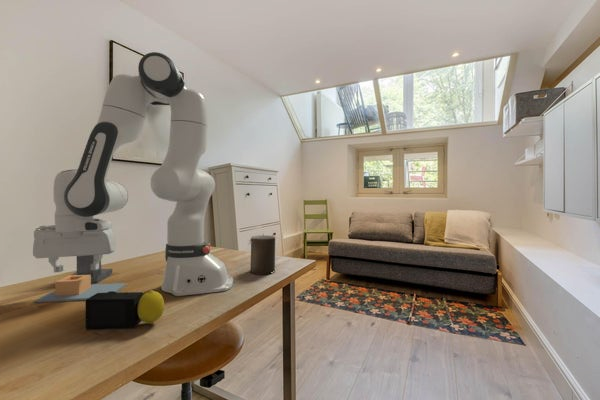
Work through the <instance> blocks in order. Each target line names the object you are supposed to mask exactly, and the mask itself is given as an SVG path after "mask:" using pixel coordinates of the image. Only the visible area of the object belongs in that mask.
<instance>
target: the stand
mask: <svg viewBox="0 0 600 400" xmlns="http://www.w3.org/2000/svg"><path fill="white" fill-rule="evenodd" d="M95 260H96V259H94V255H86V256H76V272H74V273H72V274H70V275H91V284H100V282H101V281H103V280H105V279H107V278H108V277H110V276H112V275H113V268H102V260H101V261H100V262H99V269H97V270H91V269H90V268H91V267H90V264H93V263H94V262H95Z"/></svg>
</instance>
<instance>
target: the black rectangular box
mask: <svg viewBox="0 0 600 400" xmlns="http://www.w3.org/2000/svg"><path fill="white" fill-rule="evenodd" d="M143 295H144V294H143V291H137V292H136V291H135V292H134V291H132V292H131V291H130V292H127V291H126V292H122V291H121V292H114V291H110V292H107V293H97V294H95V295H93V296H91V297H90V298H88V299H86V300H85V330H86V331H88V330H89V331H90V330H91V331H92V330H94V331H96V330H98V331H99V330H129V329H135V328H137V326H138V325H139V324H140V323H141V322H143V321H142V320H141V319H140V318H139V316H138V311H137V308H138V303H139V300H140V298H141V297H142V296H143Z"/></svg>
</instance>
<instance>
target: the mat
mask: <svg viewBox="0 0 600 400" xmlns="http://www.w3.org/2000/svg"><path fill="white" fill-rule="evenodd" d="M126 286H127V283H126V282H124V283H123V282H121V283H91V288H89V289H87V290H86V291H84V292H83V293H81V294H79V295H59V296H55V290H53V291H50V292H49V293H46V294H44V295H43V296H42V295H41V297H39V298H37V299H35V300H34V303H53V302H54V303H55V302H56V303H57V302H73V301H74V302H75V301H76V302H78V301H79V302H80V301H86V299H88V298H90V297H91V296H93V295H95V294H97V293H107V292H110V291H114V292H117V293H119V291H120V290H122V289H123V288H125V287H126Z"/></svg>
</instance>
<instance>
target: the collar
mask: <svg viewBox="0 0 600 400" xmlns="http://www.w3.org/2000/svg"><path fill="white" fill-rule="evenodd" d="M91 284H92V283H91V275H71V274H70V275H67V276H65V277H63V278H60V279H59V280H56V281H55V282H54V285H55V286H54V288H55V296H59V295H79V294H81V293H83V292H84V291H86V290H87V289H89V288H91Z"/></svg>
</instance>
